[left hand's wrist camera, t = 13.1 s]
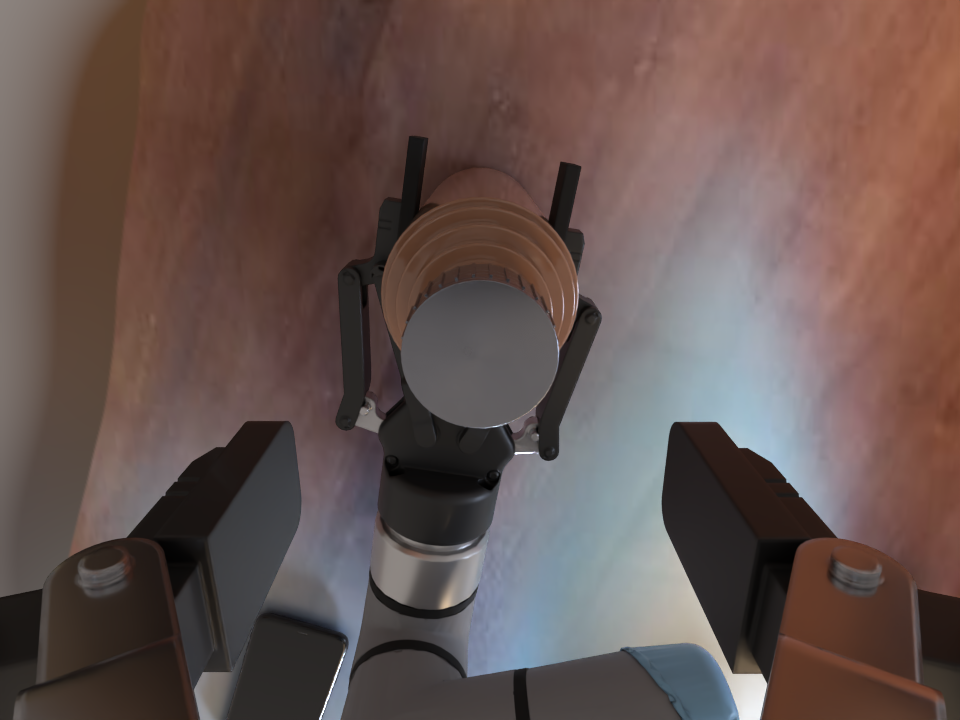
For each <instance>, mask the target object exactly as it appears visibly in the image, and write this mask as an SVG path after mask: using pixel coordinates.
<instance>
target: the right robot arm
mask: <svg viewBox="0 0 960 720" xmlns="http://www.w3.org/2000/svg"><path fill="white" fill-rule="evenodd" d="M427 144H428V138H424V137H419V136H409V142H408V151H407V159H406V167H405V176H404V184H403V192H402V199H397V198H391V197H388V198H386V199H385V200H384V202H383V204H382V206H381V207H380V212H379V221H378V230H377V240H376V249H375V254H374V256H373V257H371V258H368V259H363V260H357V259H356V260H352V261H351V262H349V263H348V264H347V265H346V266H345V267H344V268H343V269H342V270H341V271H340V273H339V275H338V291H339V309H340V328H341V346H342V364H343V382H344V396H343V399H342V402H341V405H340V407H339V410H338V413H337V416H336V421H335V422H336V425H337V426H338V427H339V428H340V429H342V430H351V429H352V428H353V427H354V426H358V427H361V428H364V429H367V430H370V431H373V432H376V433H378V436H379V440H380V442H381V444H382V446H383V450H384V458H383V466H382V474H381V481H380V489H379V497H378V513H377V516H376V519H375V527H374V535H373V544H372V552H371V560H370V571H369V583H368V589H367V595H366V601H365V607H364V614H363V620H362V626H361V631H360V636H359V640H358V644H357V648H356V652H355V656H354V661H353V665H352V669H351V674H350V678H349V687H348V694H347V698H346V702H345V705H344V709H343V713H342V716H341V720H739V715H738V711H737V707H736V704H735V702H734V699H733V696H732V694H731V691H730V688H729V686H728V684H727V681H726V679H725V677H724V675H723V673H722V671H721V669H720V667H719V665H718V664H717V662H716V661H715V659H714V658H713V657H712V655H711V654H710V653H709V652H708V651H706V650H705V649H704V648H702V647H701V646H698V645H696V644H690V643H681V644H670V645H658V646H647V647H635V648H631V647H623V648H621V649H620V651H619V652H614V653H609V654H603V655H598V656H593V657H588V658H582V659H577V660H572V661H566V662H561V663H556V664H551V665H545V666H540V667H535V668H523V669H518V670H509V671H503V672H497V673H492V674H486V675H480V676H474V677H468V678H467V664H468V641H469V632H470V626H471V620H472V614H473V608H474V602H475V596H476V593H477V589H478V584H479V581H480V578H481V573H482V568H483V563H484V558H485V553H486V549H487V544H488V539H489V532H490V531H489V527H490V525H491V523H492V519H493V514H494V509H495V504H496V500H497V495H498V490H499V485H500V480H501V475H502V472H503V469H504V467H505V466H506V464H507V463H508V462H509V461H510V460H511V459H512V458H513V456H514V454H525V453H539V454H540V457H541V458H542V459H544V460H546V461H551V460H554V459H555V458H556V457H557V456H558V454H559V426H560V423H561V421H562V418H563V416H564V413H565V411H566V408H567V406H568V403H569V401H570V398H571V396H572V393H573V391H574V388H575V386H576V383H577V381H578V378H579V376H580V373H581V371H582V368H583V366H584V363H585V361H586V358H587V356H588V353H589V351H590V348H591V346H592V343H593V341H594V338H595V336H596V333H597V331H598V328H599V326H600V323H601V319H602V316H601V313H600V312H599V310H598V309H597V307H596V306H595V304H594V303H593V301H592V300H591V299H589V298H586V297H584V296H582V295H580V294H579V299H578V308H577V313H576V318H575V321H574V324H573V327H572V329H571V332H570V334H569V336H568V338H567V340H566V341H565V343H564V344H563V346H562V347H561V349H560V350H559V362H558V368H557V372H556V375H555V378H554V381H553V383H552V385H551V387H550V389H549V391H548V392H547V394H546V395H545V397H544V398H543V399H542V400H541V401H540V403H539V404H538V405H537V407H536V417H533V416H532V417H530V418H528V419H527V420H526V421H525V422H524V426H523V428H522V430H521V431H519V432H517V433H513V432H512V430H511V428H510V427H509V425H508V423H507V424H505V425H501V426H497V427H490V428H470V427H463V426H459V425H455V424H453V423H450V422H447V421H445V420H443V419H441V418H439V417H437V416H436V415H434V414H433V413H431V412H430V411H429V410H428V409H427V408H425V407H424V406H423V405H422V404H421V403H420V402H419V400H418V399H417V398H416V397H415V395H414V394H413V392H412V391H411V389H410V387H409V385H408V383H407V381H406V379H405V376H404V373H403V368H402V363H401V350H400V349H399V347H398V346H397V344H396V343H395V341H394V340H393V338H392V336H391V334H390V332H389V330H388V327H387V330H388V333H389V337H390V340H391V344H392V347H393V351H394V354H395V358H396V362H397V365H398V369H399V372H400V376H401V385H402V390H403V393H404V397H403V398H402V399H401V400H400V401H398V402H397V403H396V404H395V405H394V406H393V407H392V408H391V409H390V410H389V411H388V412H387V413H386V414H385V413H383V412H381V411H380V409H379V408H378V398H377V396H376V395H375V394H374V393H373V392H371V391H368V390H369V387H370V382H371V354H370V328H369V301H368V285H369V284H375V287H376V291H377V294H378V298H379V301H380V305H381V308H382V300H381V286H382V277H383V273H384V268H385V265H386V262H387V259H388V257H389V254H390V252H391V250H392V248H393V247H394V245H395V243H396V242H397V240H398V239H399V237H400V236H401V235H402V233H403V232H404V230H405V229H406V228H407V226H408V225H409V224H410V222H411V221H412V220H413V218H414V217H415V216H416V214H417V213H418V212H419V205H420V198H421V190H422V182H423V175H424V167H425V159H426V151H427ZM580 171H581V166H578V165H575V164H571V163H566V162H560V167H559V172H558V177H557V182H556V187H555V192H554V197H553V201H552V206H551V211H550V216H549V223H550V224H551V225H552V227H553V228H554V229H555V231H556V232H557V233H558V235H559V236H560V238H561V239H562V240H563V242H564V243H565V245H566V247H567V249H568V251H569V252H570V254H571V257H572V260H573V262H574V265H575V269H576V273H577V275H578V271H579V266H580V261H581V257H582V253H583V248H584V244H585V243H584V236H583V233H582V232H581V231H580V230H578V229H572V228H568V227H569V222H570V218H571V213H572V208H573V204H574V199H575V194H576V190H577V185H578V180H579V176H580ZM382 312H383V309H382ZM383 315H384V314H383ZM384 319H385V318H384ZM385 323H386V321H385ZM386 326H387V324H386Z"/></svg>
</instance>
